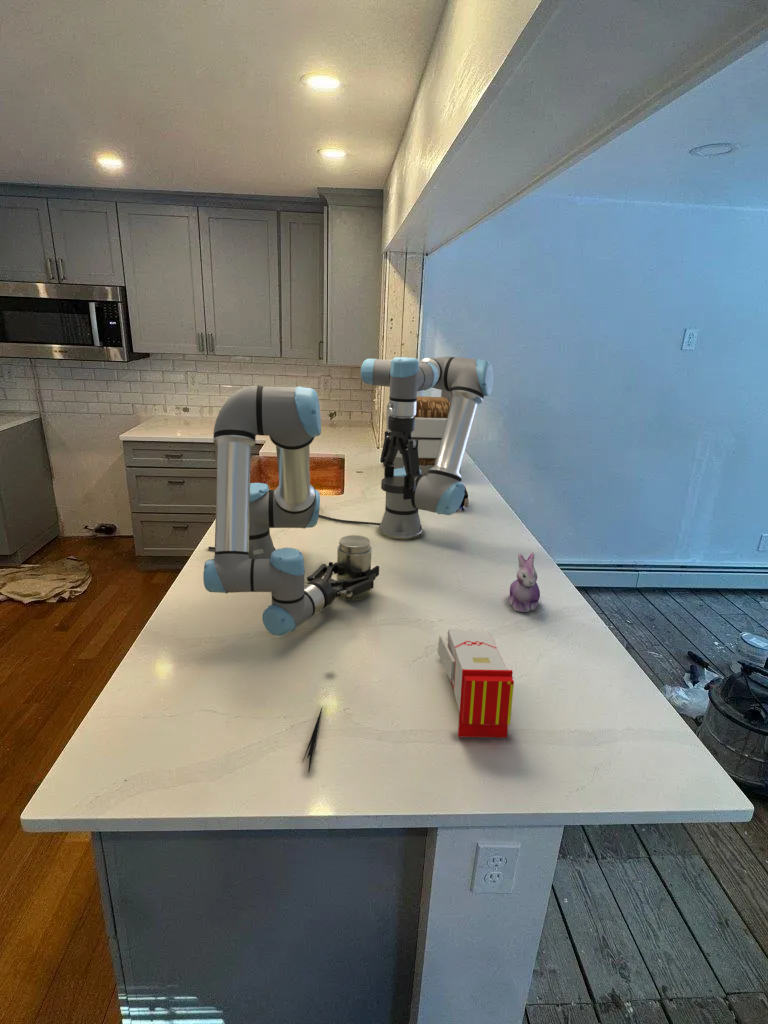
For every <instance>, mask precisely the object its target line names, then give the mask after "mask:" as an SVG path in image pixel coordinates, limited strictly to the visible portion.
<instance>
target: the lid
mask: <svg viewBox="0 0 768 1024" xmlns="http://www.w3.org/2000/svg"><path fill="white" fill-rule="evenodd" d="M415 488H416V481H415V480H414V488H413V492H414V491H415ZM380 489H381V490H382V491H383V492H385V493H386V492H389V493H395V494H403V492H404V477H400V476H391V477H386V478H384V477H383V478H381V481H380Z"/></svg>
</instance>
